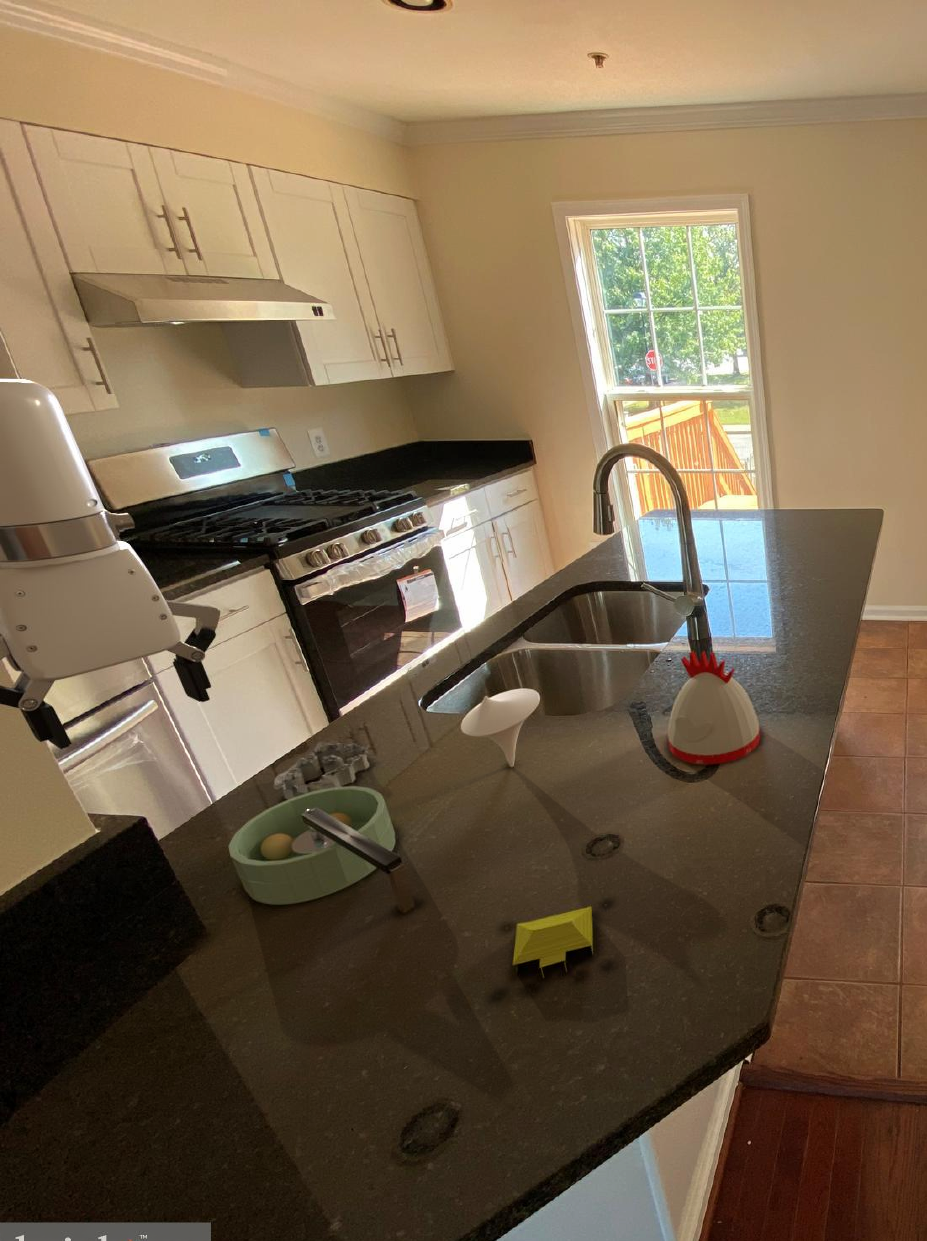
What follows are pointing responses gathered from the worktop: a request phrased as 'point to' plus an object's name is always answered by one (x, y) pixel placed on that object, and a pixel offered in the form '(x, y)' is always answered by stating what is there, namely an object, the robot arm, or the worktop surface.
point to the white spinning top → (501, 718)
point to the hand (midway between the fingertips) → (133, 719)
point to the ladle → (353, 850)
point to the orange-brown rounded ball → (277, 846)
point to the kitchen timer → (711, 715)
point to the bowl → (317, 869)
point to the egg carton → (336, 764)
